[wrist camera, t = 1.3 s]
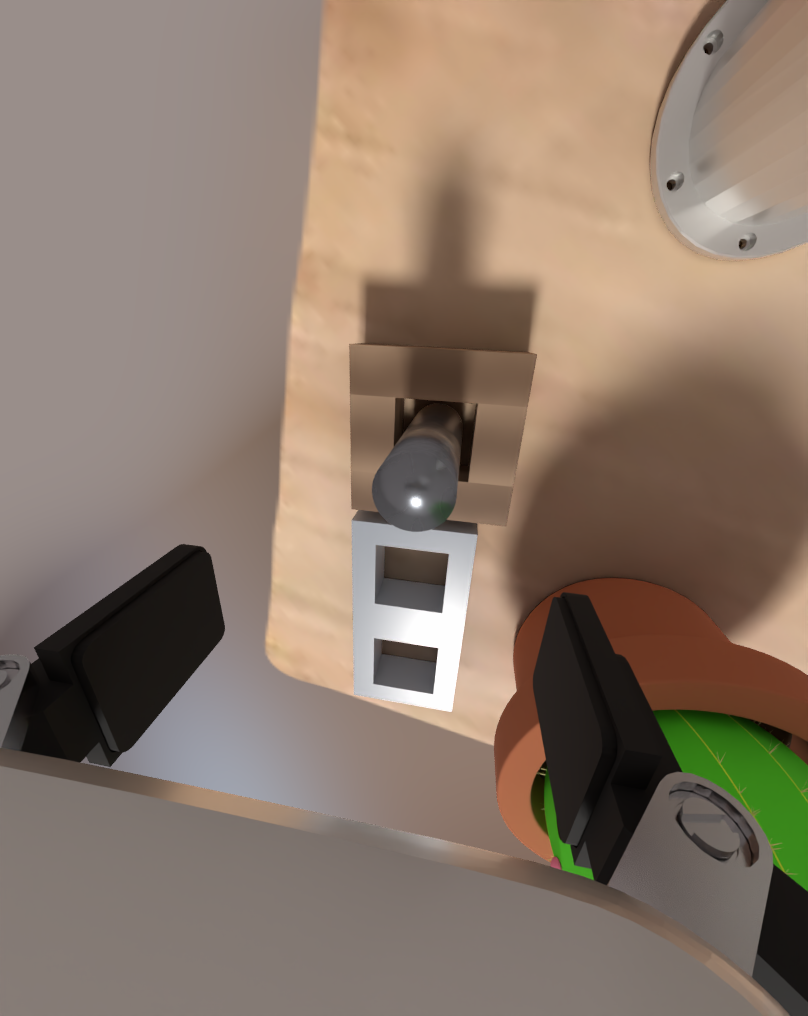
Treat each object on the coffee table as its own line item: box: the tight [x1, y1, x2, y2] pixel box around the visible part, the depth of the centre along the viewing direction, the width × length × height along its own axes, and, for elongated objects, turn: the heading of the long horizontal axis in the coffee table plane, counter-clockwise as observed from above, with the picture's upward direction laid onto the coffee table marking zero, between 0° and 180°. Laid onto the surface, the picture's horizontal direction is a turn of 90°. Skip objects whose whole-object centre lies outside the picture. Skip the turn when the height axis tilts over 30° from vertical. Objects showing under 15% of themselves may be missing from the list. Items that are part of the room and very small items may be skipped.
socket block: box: [349, 343, 537, 526], centre depth 28 cm, size 12×12×4 cm
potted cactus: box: [494, 578, 808, 891], centre depth 25 cm, size 22×22×25 cm
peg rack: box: [352, 510, 478, 712], centre depth 36 cm, size 20×10×4 cm, turn 177°
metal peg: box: [372, 403, 463, 532], centre depth 24 cm, size 4×4×14 cm
